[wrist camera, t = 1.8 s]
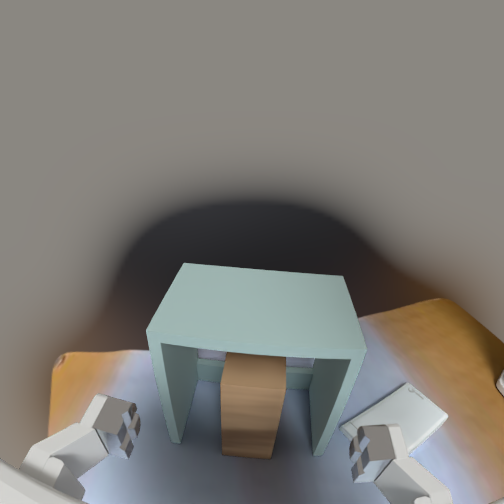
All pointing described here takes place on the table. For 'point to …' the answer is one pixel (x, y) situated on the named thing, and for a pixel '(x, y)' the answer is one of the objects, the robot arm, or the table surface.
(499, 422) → the table surface
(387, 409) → the hard drive
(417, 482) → the robot arm
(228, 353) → the walnut block
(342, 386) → the tunnel
